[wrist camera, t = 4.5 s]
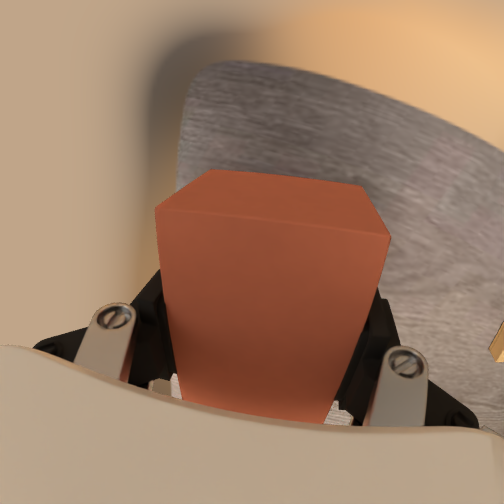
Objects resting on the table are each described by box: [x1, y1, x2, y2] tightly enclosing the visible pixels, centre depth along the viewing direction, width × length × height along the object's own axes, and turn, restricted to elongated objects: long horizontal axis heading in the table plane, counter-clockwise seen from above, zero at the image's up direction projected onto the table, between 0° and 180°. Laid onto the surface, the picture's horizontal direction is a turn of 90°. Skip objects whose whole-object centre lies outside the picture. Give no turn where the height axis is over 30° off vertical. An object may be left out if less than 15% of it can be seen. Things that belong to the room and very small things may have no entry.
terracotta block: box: [155, 169, 391, 424], centre depth 9 cm, size 8×5×4 cm, turn 177°
